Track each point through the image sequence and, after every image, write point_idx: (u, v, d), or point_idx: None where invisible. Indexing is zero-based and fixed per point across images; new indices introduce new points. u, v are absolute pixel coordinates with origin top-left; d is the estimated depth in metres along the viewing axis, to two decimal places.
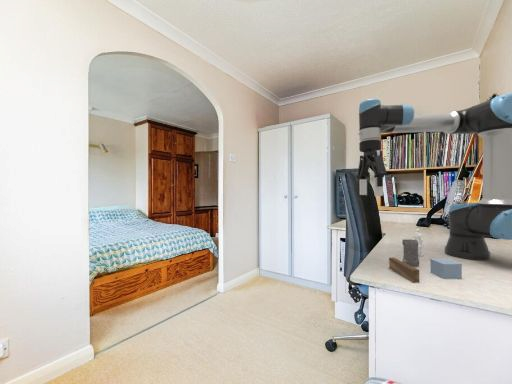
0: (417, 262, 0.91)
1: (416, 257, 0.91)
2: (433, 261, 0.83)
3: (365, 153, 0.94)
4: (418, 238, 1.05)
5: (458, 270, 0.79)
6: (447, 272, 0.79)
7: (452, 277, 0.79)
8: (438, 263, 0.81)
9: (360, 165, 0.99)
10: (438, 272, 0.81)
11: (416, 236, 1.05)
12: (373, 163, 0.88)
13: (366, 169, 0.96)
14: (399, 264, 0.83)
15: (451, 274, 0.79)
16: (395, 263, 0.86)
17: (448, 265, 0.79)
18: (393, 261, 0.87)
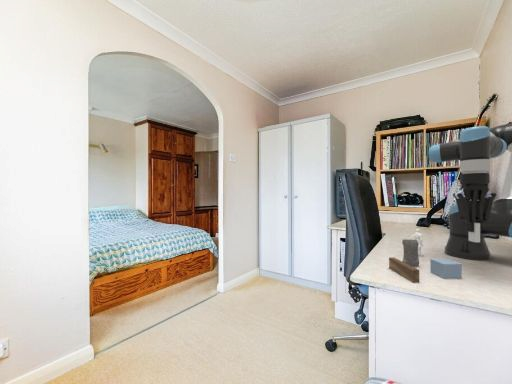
0: (417, 262, 0.91)
1: (416, 257, 0.91)
2: (433, 261, 0.83)
3: None
4: (418, 238, 1.05)
5: (458, 270, 0.79)
6: (447, 272, 0.79)
7: (452, 277, 0.79)
8: (438, 263, 0.81)
9: None
10: (438, 273, 0.81)
11: (416, 236, 1.05)
12: (466, 203, 0.82)
13: (476, 207, 0.81)
14: (399, 264, 0.83)
15: (452, 274, 0.79)
16: (395, 263, 0.86)
17: (448, 265, 0.79)
18: (393, 261, 0.87)
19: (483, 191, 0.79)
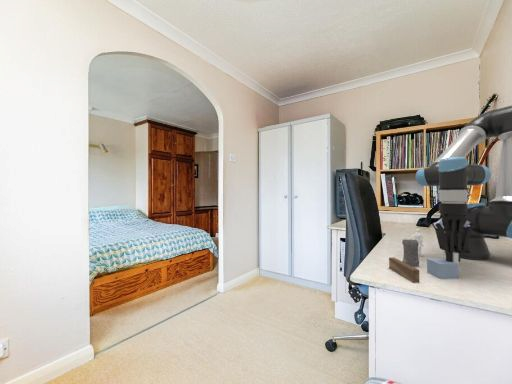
0: (417, 262, 0.91)
1: (416, 257, 0.91)
2: (429, 261, 0.83)
3: None
4: (418, 238, 1.05)
5: (454, 270, 0.79)
6: (444, 272, 0.79)
7: (448, 277, 0.79)
8: (434, 263, 0.81)
9: None
10: (434, 272, 0.81)
11: (416, 236, 1.05)
12: (445, 233, 0.82)
13: (455, 237, 0.81)
14: (399, 264, 0.83)
15: (448, 274, 0.79)
16: (395, 263, 0.86)
17: (444, 265, 0.79)
18: (393, 261, 0.87)
19: (461, 221, 0.79)
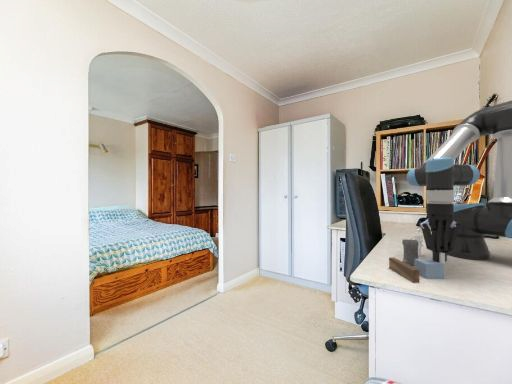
0: None
1: (416, 257, 0.91)
2: (417, 261, 0.83)
3: None
4: (418, 238, 1.05)
5: (441, 270, 0.79)
6: (430, 272, 0.79)
7: (435, 277, 0.79)
8: (421, 263, 0.81)
9: None
10: (421, 272, 0.81)
11: (416, 236, 1.05)
12: (432, 233, 0.82)
13: (442, 237, 0.81)
14: (399, 264, 0.83)
15: (434, 274, 0.79)
16: (395, 263, 0.86)
17: (431, 265, 0.79)
18: (393, 261, 0.87)
19: (447, 222, 0.79)
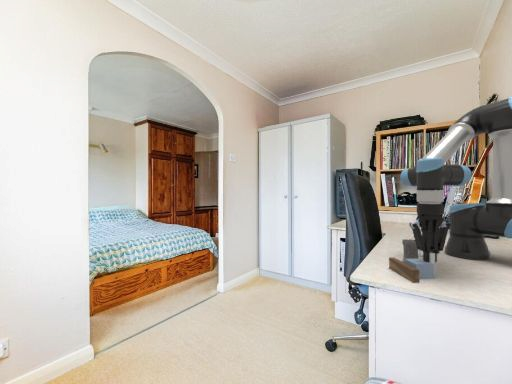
0: None
1: (416, 257, 0.91)
2: (407, 261, 0.83)
3: None
4: None
5: (430, 270, 0.79)
6: (420, 272, 0.79)
7: (424, 277, 0.79)
8: (411, 263, 0.81)
9: (438, 232, 0.83)
10: None
11: None
12: (422, 233, 0.82)
13: (432, 237, 0.81)
14: (399, 264, 0.83)
15: (424, 274, 0.79)
16: (395, 263, 0.86)
17: (420, 265, 0.79)
18: (393, 261, 0.87)
19: (437, 222, 0.80)
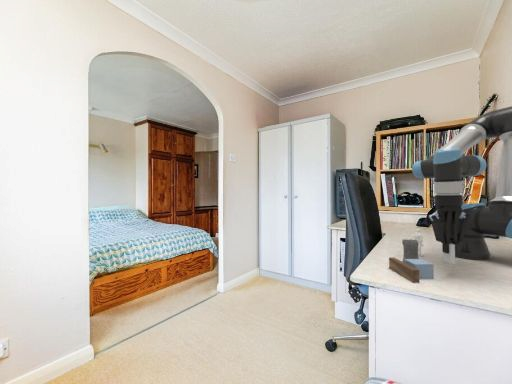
0: None
1: (416, 257, 0.91)
2: (406, 261, 0.83)
3: None
4: (418, 238, 1.05)
5: (430, 270, 0.79)
6: (419, 272, 0.79)
7: (424, 277, 0.79)
8: (411, 263, 0.81)
9: (457, 223, 0.83)
10: None
11: (416, 236, 1.05)
12: (441, 225, 0.82)
13: (451, 228, 0.81)
14: (399, 264, 0.83)
15: (423, 274, 0.79)
16: (395, 263, 0.86)
17: (420, 265, 0.79)
18: (393, 261, 0.87)
19: (457, 213, 0.80)
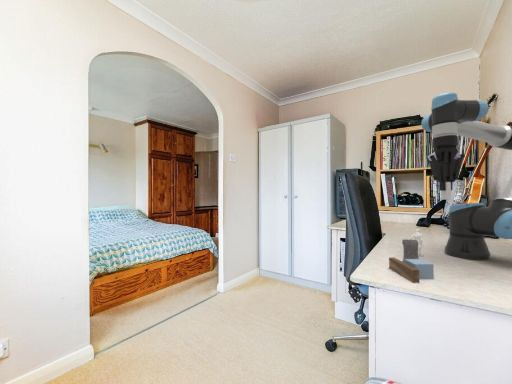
0: None
1: (416, 257, 0.91)
2: (406, 261, 0.83)
3: None
4: (418, 238, 1.05)
5: (430, 270, 0.79)
6: (419, 272, 0.79)
7: (424, 277, 0.79)
8: (411, 263, 0.81)
9: (452, 164, 0.90)
10: None
11: (416, 236, 1.05)
12: (438, 165, 0.89)
13: (447, 168, 0.88)
14: (399, 264, 0.83)
15: (423, 274, 0.79)
16: (395, 263, 0.86)
17: (420, 265, 0.79)
18: (393, 261, 0.87)
19: (452, 152, 0.87)
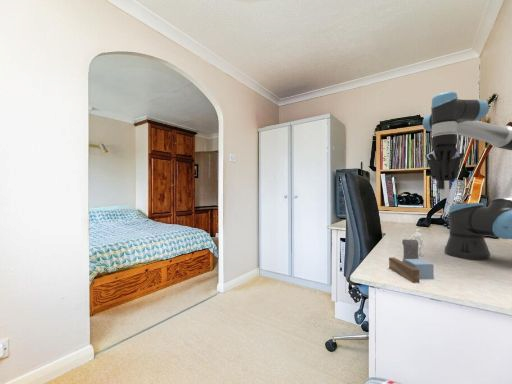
0: None
1: (416, 257, 0.91)
2: (406, 261, 0.83)
3: None
4: (418, 238, 1.05)
5: (430, 270, 0.79)
6: (419, 272, 0.79)
7: (424, 277, 0.79)
8: (411, 263, 0.81)
9: (452, 163, 0.90)
10: None
11: (416, 236, 1.05)
12: (437, 164, 0.90)
13: (446, 166, 0.89)
14: (399, 264, 0.83)
15: (423, 274, 0.79)
16: (395, 263, 0.86)
17: (420, 265, 0.79)
18: (393, 261, 0.87)
19: (451, 151, 0.87)
